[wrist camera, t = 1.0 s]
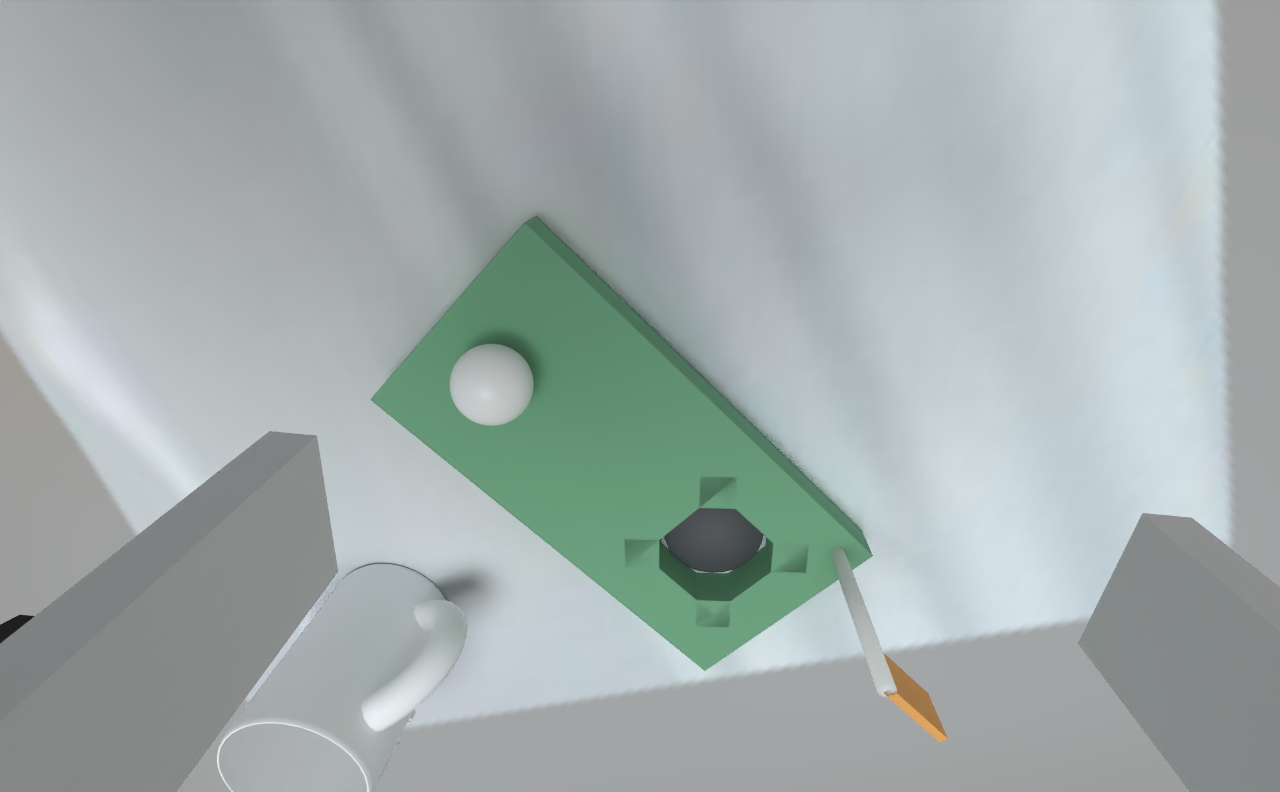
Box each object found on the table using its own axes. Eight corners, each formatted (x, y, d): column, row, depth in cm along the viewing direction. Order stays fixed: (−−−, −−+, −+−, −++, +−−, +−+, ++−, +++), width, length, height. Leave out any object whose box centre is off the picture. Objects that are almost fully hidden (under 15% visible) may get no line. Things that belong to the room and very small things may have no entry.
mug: (524, 616, 42) (468, 788, 31) (385, 670, 45) (288, 846, 34) (455, 522, 40) (366, 675, 28) (312, 587, 42) (181, 748, 31)
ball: (449, 369, 33) (419, 400, 29) (497, 317, 31) (472, 342, 28) (508, 419, 34) (486, 455, 30) (557, 370, 32) (540, 401, 29)
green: (390, 382, 36) (260, 494, 25) (536, 216, 32) (457, 261, 21) (729, 662, 42) (744, 848, 31) (887, 554, 38) (969, 726, 27)
